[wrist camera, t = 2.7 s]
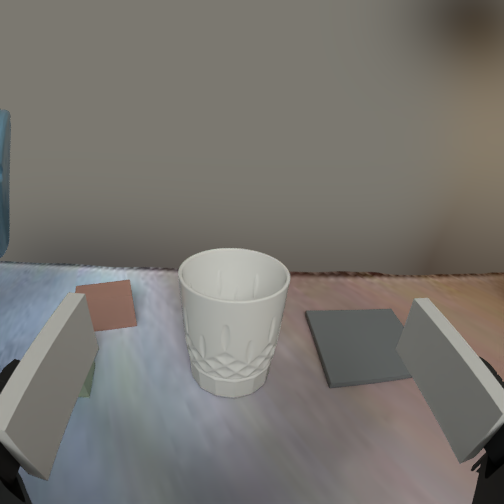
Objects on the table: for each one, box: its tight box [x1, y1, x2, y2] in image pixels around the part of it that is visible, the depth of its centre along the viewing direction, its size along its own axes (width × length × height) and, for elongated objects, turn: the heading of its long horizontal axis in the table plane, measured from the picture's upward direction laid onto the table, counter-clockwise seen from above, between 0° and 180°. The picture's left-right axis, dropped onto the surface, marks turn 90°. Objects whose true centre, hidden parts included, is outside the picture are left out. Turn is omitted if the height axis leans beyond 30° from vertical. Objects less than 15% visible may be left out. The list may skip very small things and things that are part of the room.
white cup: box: [178, 248, 290, 398], centre depth 24 cm, size 8×8×10 cm
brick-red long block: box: [75, 280, 137, 332], centre depth 30 cm, size 6×3×4 cm, turn 114°
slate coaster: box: [305, 309, 412, 388], centre depth 30 cm, size 11×11×1 cm
